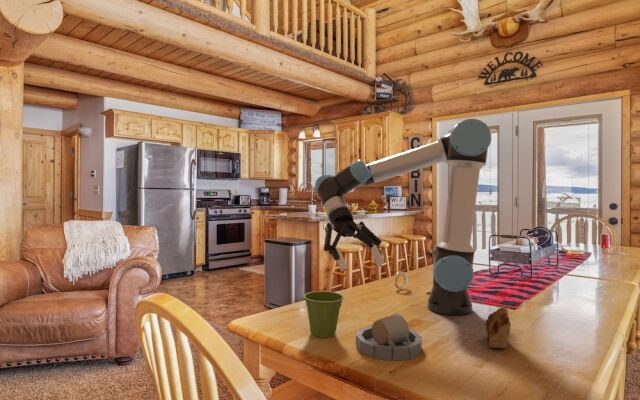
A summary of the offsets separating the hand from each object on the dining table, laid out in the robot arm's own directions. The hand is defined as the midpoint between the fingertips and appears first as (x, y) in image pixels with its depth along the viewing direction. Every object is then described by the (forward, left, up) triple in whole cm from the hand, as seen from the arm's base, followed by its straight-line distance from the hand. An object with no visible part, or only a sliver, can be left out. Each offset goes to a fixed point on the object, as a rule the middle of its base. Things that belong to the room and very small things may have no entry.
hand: (363, 266), depth 121 cm
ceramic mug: (-11, +12, -18) cm, 25 cm away
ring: (-5, -53, -19) cm, 57 cm away
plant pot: (+10, +8, -19) cm, 23 cm away
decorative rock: (-38, 0, -19) cm, 43 cm away
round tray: (-10, +11, -19) cm, 24 cm away
